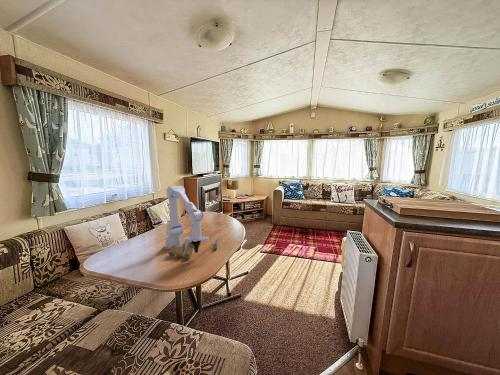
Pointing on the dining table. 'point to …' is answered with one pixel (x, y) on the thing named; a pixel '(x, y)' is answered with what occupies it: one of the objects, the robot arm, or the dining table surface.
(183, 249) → the pair of rectangular slabs
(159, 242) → the dining table surface
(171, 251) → the wooden block set
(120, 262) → the dining table surface
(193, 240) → the robot arm
